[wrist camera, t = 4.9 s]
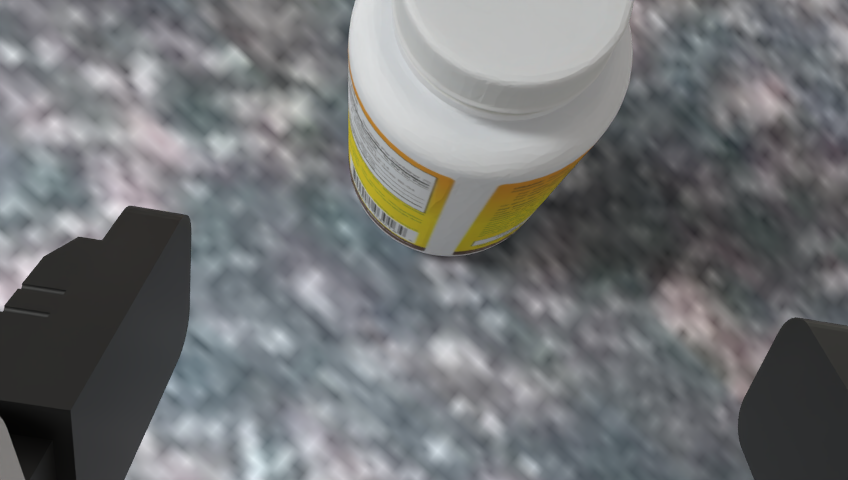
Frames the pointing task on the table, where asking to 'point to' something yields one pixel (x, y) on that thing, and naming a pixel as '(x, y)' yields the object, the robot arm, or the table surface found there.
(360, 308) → the table surface
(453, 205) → the supplement bottle
